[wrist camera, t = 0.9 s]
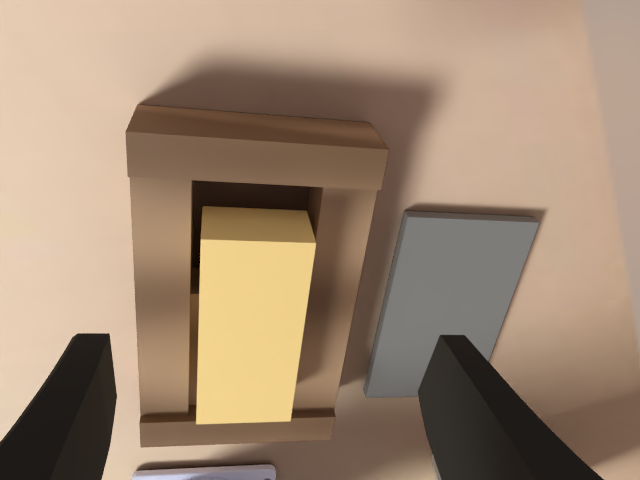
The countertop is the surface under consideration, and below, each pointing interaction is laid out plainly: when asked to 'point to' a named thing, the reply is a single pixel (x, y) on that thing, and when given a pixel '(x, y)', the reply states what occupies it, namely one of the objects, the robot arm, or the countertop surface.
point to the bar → (251, 312)
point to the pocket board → (184, 281)
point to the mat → (444, 291)
